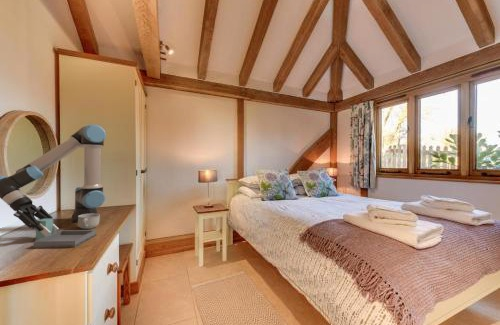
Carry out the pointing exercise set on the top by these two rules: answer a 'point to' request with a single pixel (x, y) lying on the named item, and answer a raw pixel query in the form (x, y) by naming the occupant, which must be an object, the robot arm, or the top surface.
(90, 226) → the teacup
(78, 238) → the tray
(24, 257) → the top surface
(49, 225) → the teal block
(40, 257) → the top surface
